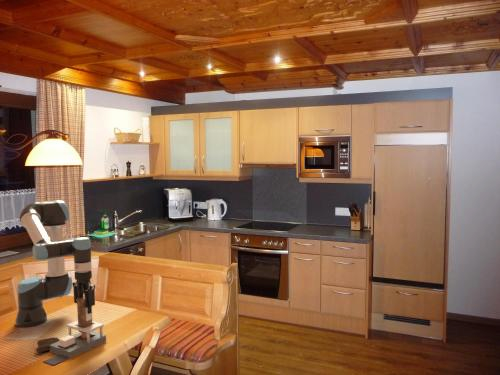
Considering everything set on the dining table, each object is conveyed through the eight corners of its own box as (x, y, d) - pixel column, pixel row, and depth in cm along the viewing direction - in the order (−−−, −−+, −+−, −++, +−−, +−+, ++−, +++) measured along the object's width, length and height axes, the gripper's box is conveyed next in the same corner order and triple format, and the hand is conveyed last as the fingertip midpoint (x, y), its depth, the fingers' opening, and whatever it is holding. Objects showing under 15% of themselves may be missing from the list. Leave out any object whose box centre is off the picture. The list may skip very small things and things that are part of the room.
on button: (59, 345, 188) (59, 339, 188) (69, 341, 192) (68, 335, 192) (65, 347, 186) (64, 341, 186) (74, 343, 190) (74, 336, 190)
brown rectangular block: (78, 331, 197) (76, 298, 196) (86, 327, 200) (84, 295, 199) (84, 333, 194) (83, 299, 193) (92, 329, 198) (91, 297, 197)
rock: (37, 356, 186) (36, 348, 186) (36, 347, 195) (36, 339, 195) (64, 350, 191) (63, 342, 191) (62, 341, 200) (62, 334, 200)
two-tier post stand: (49, 351, 190) (48, 332, 189) (86, 334, 207) (85, 317, 206) (70, 358, 182) (69, 339, 182) (106, 341, 199) (106, 323, 199)
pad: (43, 361, 180) (43, 361, 180) (57, 355, 186) (57, 354, 186) (53, 365, 176) (53, 364, 176) (68, 358, 182) (68, 358, 182)
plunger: (80, 339, 197) (79, 331, 197) (86, 336, 200) (86, 328, 200) (85, 340, 195) (84, 332, 195) (91, 338, 198) (91, 329, 198)
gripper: (64, 270, 197) (66, 318, 198) (88, 274, 188) (90, 325, 189) (77, 266, 203) (79, 313, 205) (102, 270, 194) (104, 319, 196)
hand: (85, 318), depth 197 cm, fingers closed on brown rectangular block, 4 cm apart
